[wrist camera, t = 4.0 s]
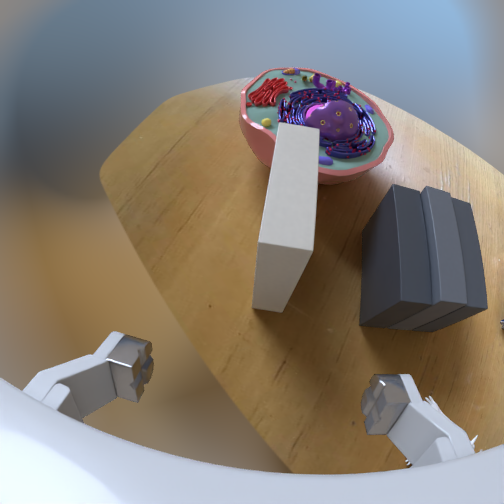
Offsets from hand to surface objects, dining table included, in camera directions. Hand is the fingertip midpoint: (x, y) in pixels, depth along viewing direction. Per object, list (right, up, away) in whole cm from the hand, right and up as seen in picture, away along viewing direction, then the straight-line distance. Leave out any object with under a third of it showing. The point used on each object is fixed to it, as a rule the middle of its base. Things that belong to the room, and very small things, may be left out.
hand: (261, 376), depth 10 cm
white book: (+2, +3, +21) cm, 21 cm away
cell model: (+7, +17, +27) cm, 33 cm away
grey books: (+16, +1, +20) cm, 26 cm away
